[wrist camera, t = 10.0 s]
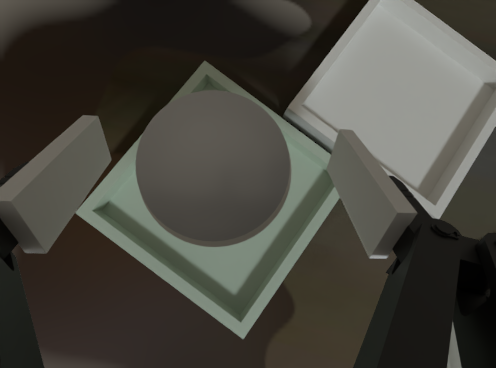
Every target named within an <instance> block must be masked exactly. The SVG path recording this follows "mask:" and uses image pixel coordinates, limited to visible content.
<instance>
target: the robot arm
mask: <svg viewBox="0 0 496 368" xmlns="http://www.w3.org/2000/svg"><path fill="white" fill-rule="evenodd" d="M110 162H111V156H110V153H109V149H108V146H107V143H106V140H105V137H104V133H103V130H102V127H101V124H100V120H99V117H98V116H87V115H83V116H82V117H81V118H79V119H78V120H77V121H76V122H75V123H74V124H73V125H71V126H70V127H69V128H68V129H67V130H66V131H64V132H63V133H62V134H61V135H60V136H59V137H58V138H56V139H55V140H54V141H53V142H52V143H51V144H50V145H48V146H47V147H46V148H45V149H44V150H43V151H41V152H40V154H38V155H37V156H36V157H35V158H33V159H32V160H31V161H30V162H26V163H24V164H22V165H20V166H18V167H16V168H14V169H13V170H11V171H10V172H9V173H8V174H7V175H6V176H5V178H2V179H1V180H0V368H44V365H43V361H42V358H41V353H40V349H39V345H38V341H37V338H36V334H35V330H34V326H33V322H32V318H31V314H30V310H29V306H28V303H27V299H26V295H25V291H24V287H23V284H22V279H21V275H20V271H19V268H18V264H17V260H16V257H15V255H14V254H13V253H12V252H11V251H12V250H13V249H14V247H15V246H16V245H17V244H19V245H20V246H21V247H22V249H23V250H24V252H25V253H47V251H48V250H49V249H50V247H51V246H52V245H53V243H54V242H55V240H56V239H57V237H58V236H59V235H60V233H61V232H62V230H63V229H64V227H65V226H66V225H67V223H68V222H69V220H70V219H71V217H72V216H73V215H74V213H75V211H76V210H77V209H78V207H79V206H80V205H81V203H82V202H83V200H84V199H85V197H86V196H87V194H88V193H89V192H90V190H91V189H92V187H93V186H94V184H95V183H96V182H97V180H98V179H99V177H100V176H101V174H102V173H103V172H104V170H105V169H106V167H107V166H108V165H109V163H110ZM327 171H328V173H329V175H330V177H331V179H332V182H333V184H334V186H335V188H336V190H337V192H338V194H339V196H340V198H341V200H342V202H343V204H344V207H345V209H346V211H347V213H348V215H349V217H350V219H351V221H352V223H353V225H354V227H355V230H356V232H357V234H358V236H359V238H360V240H361V242H362V244H363V246H364V248H365V250H366V252H367V255H368V257H369V258H387V257H388V255H389V254H390V252H391V251H392V250H393V251H394V253H395V254H396V256H397V258H396V259H395V261H394V262H393V264H392V265H391V266H390V268H389V269H388V270H387V272H386V273H388V274H389V275H388V278H387V280H386V283H385V286H384V288H383V291H382V294H381V296H380V299H379V301H378V304H377V307H376V309H375V312H374V315H373V317H372V320H371V322H370V325H369V328H368V330H367V333H366V336H365V338H364V341H363V343H362V346H361V349H360V351H359V354H358V357H357V359H356V362H355V364H354V367H353V368H447V363H448V355H449V347H450V339H451V331H452V322H453V325H454V330H455V335H456V341H457V346H458V351H459V356H460V362H461V367H462V368H496V233H488V234H486V235H485V236H484V237H483V238H482V239H481V240H480V241H479V240H476V239H472V238H468V237H464V236H462V235H461V234H460V233H459V231H458V230H457V229H456V228H454V227H453V226H452V225H450V224H449V223H447V222H445V221H442V220H440V219H436V218H432V217H431V216H430V215H429V214H428V212H427V211H426V210H425V209H424V208H423V206H422V205H421V204H420V203H419V202H418V200H417V199H416V198H414V195H413V194H412V193H411V192H410V191H409V189H408V188H407V187H406V186H405V185H404V183H403V182H401V181H400V180H398V179H397V178H396V177H394V176H388V175H387V173H386V172H385V171H384V169H383V168H382V167H381V166H380V164H379V163H378V162H377V161H376V159H375V158H374V157H373V155H372V154H371V153H370V152H369V150H368V149H367V148H366V146H365V145H364V144H363V143H362V141H361V140H360V139H359V137H358V136H357V135H356V134H355V132H354V131H353V130H347V129H339V132H338V135H337V138H336V141H335V144H334V147H333V150H332V153H331V157H330V160H329V163H328V166H327Z"/></svg>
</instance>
